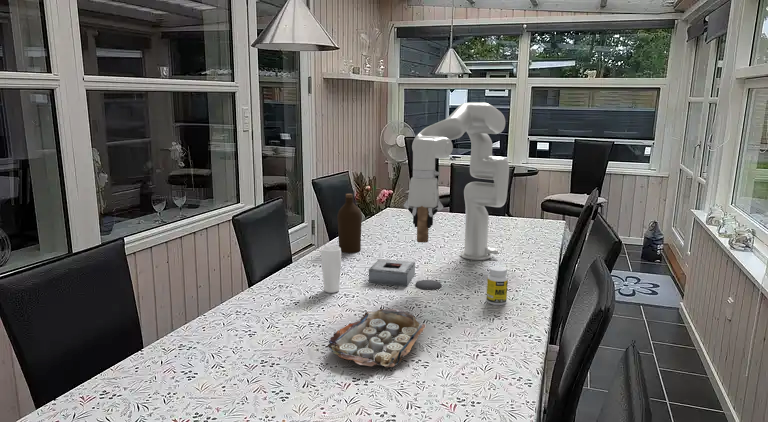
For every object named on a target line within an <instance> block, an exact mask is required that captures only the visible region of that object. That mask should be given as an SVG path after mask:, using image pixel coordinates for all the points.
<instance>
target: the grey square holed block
mask: <svg viewBox="0 0 768 422" xmlns="http://www.w3.org/2000/svg"><path fill="white" fill-rule="evenodd" d="M415 275H416V261H410V260H409V261H408V260H397V259H396V260H395V259H387V258H386V259H384V258H379V259H377V260H376V262H374V263H373V264H372V266H371V267H370V268H369V269H368V284H372V285H373V284H375V285H385V286H397V287H408V286H409V284H410V283H411V281H412V280H413V278H414V277H415Z"/></svg>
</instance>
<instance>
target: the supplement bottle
mask: <svg viewBox="0 0 768 422" xmlns="http://www.w3.org/2000/svg"><path fill="white" fill-rule="evenodd" d="M507 271H508V270H507V268H506V267H504V266H498V265H497V266H496V265H494V266H490V267H489V273H488V276H487V280H486V281H487V283H486V296H485V297H486V298H485V299H486V302H487V303H488V304H491V305H494V306H502V305H506V304H507V301H508V300H507V298H508V297H507V296H508V281H509V279H508V276H507Z"/></svg>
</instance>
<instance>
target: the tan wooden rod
mask: <svg viewBox="0 0 768 422" xmlns="http://www.w3.org/2000/svg"><path fill="white" fill-rule="evenodd" d="M428 217H429V211H428V208H425V207H423V206H421V207H417V227H416V242H418V243H421V244H422V243H424V244H426V243H429V229H430V228H428Z"/></svg>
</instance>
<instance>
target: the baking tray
mask: <svg viewBox="0 0 768 422" xmlns="http://www.w3.org/2000/svg"><path fill="white" fill-rule="evenodd" d="M426 327H427V326H426V324H425V323H422V324H420V323H419V322H418V321H417V319H416V317H415V316H414V315H413V314H412V313H410V312H408V311H404V310H402V309H397V308H385V309H384V308H380V309H378V310H376V311H367V312H365V313H364V314H362V317H360V320H358V321H355V322H353V323H348V324H347V325H345V326H344V327H342V328H340V329H339V330H337V331H336V332H334V333H333V336H330V339H329V341H328V344H327V348H328V349H329V351H330V352H332V353H333V354H334V355H336V356H338V357H339V358H341V359H343V360H344V359H345V360H347V361H349V360H350V361H353V362H354V363H355V364H357V365H360V366H368V367H373V366H376V367H377V366H382V367H383V366H384V368H389V367H391V368H393V367H395V366H396V365H398V364H399V363H401V361H402V360H403V358H404V357H405V356H407V355H408V354H409V353H410V351H411V350H412V347H413V346H414V344H415V342H417V339H418V338H419V336H421V333H423V332H424V329H426ZM393 338H394V340H393ZM385 345H386V347H385ZM366 347H367V348H366ZM384 347H385V352H384V351H383V350H384ZM359 348H360V349H359ZM382 351H383V352H382ZM374 353H376V354H374Z"/></svg>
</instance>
